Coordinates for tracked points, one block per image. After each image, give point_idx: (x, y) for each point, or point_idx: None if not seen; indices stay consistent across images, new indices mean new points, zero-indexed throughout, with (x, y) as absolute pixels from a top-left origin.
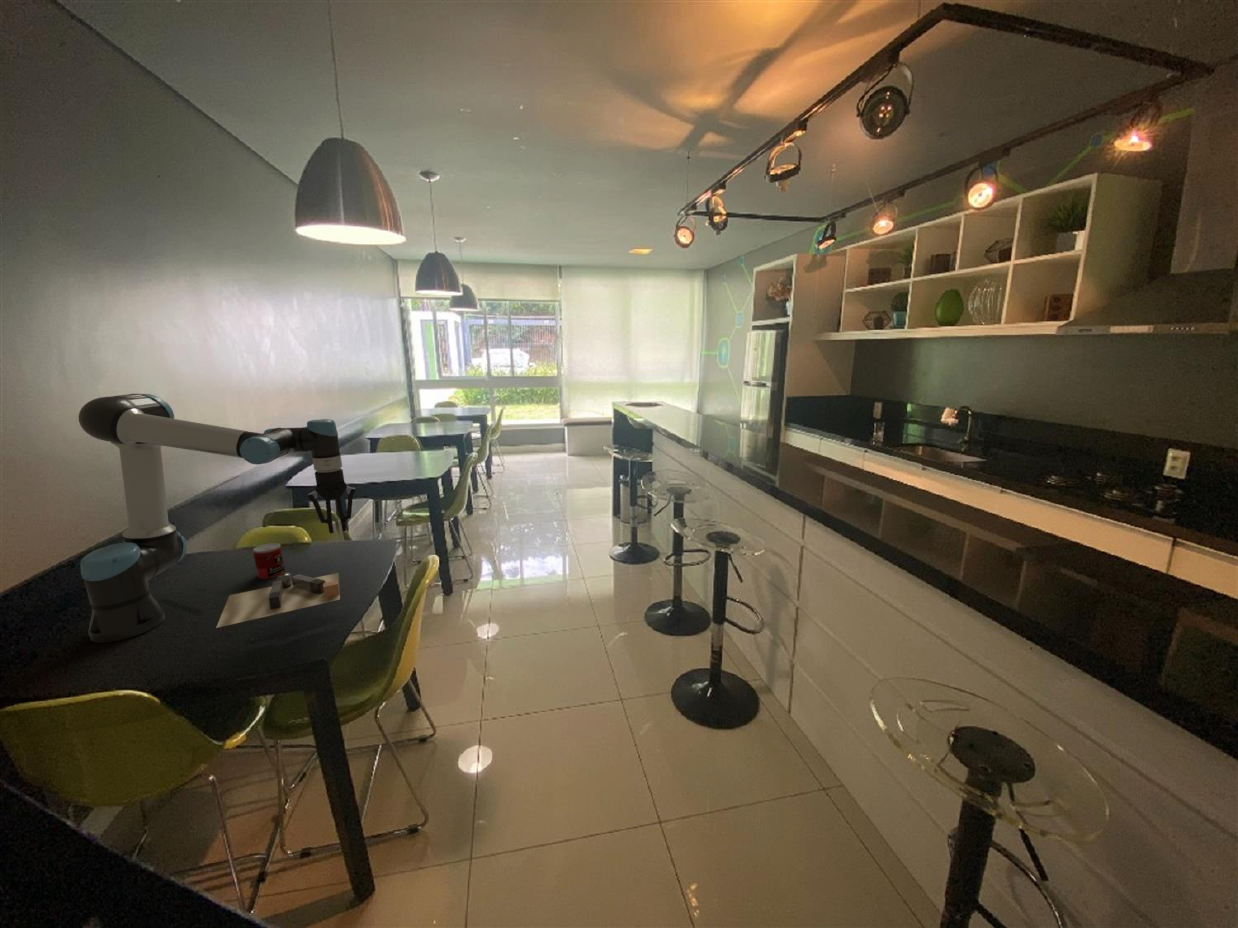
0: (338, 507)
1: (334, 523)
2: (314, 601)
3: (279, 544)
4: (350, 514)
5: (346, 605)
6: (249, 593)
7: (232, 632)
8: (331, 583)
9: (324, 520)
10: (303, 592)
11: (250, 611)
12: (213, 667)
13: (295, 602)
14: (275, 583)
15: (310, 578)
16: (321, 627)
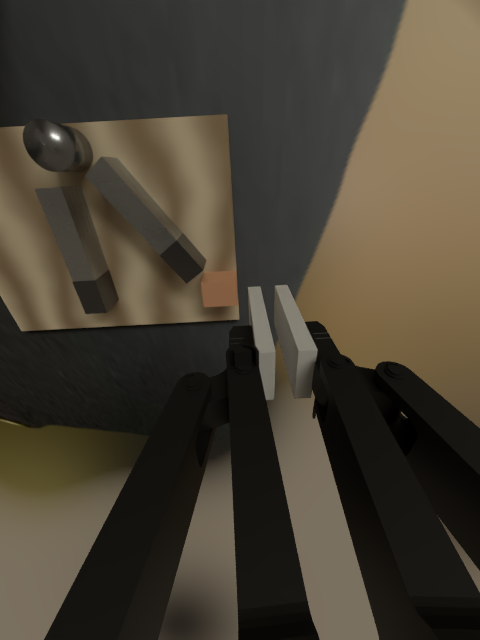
0: (356, 532)
1: (270, 395)
2: (187, 304)
3: None
4: (403, 433)
5: None
6: None
7: (62, 340)
8: (221, 295)
9: (212, 429)
10: None
11: (54, 288)
12: (93, 417)
13: (144, 290)
14: (52, 211)
15: (156, 226)
16: None
